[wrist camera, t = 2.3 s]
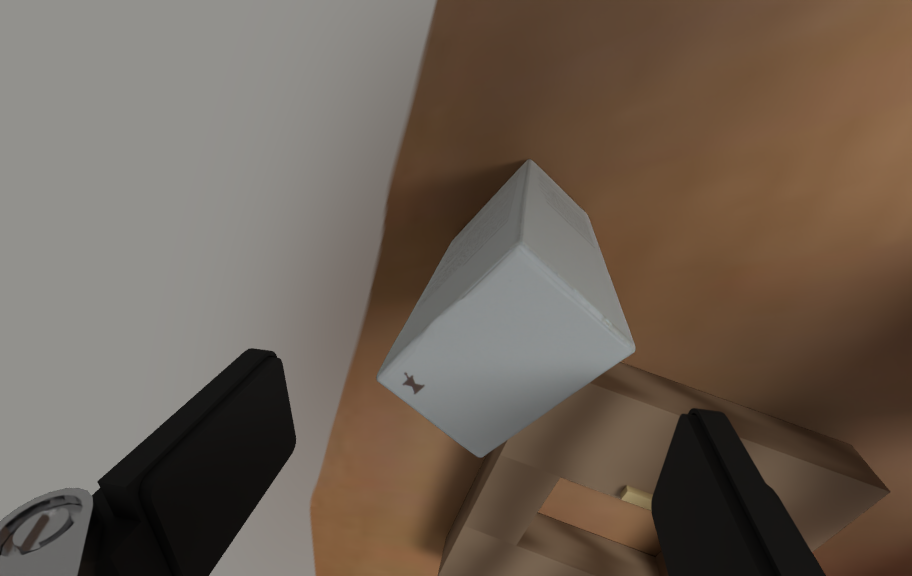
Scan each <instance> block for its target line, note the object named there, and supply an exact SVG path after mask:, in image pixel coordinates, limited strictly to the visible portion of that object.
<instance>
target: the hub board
mask: <svg viewBox="0 0 912 576" xmlns="http://www.w3.org/2000/svg"><path fill="white" fill-rule="evenodd" d="M692 408H698V409H705V410H713V411H720V412H723V413H724V414H725V415H726V416H727V417H728V419H729V421H730V423H731V424H732V426H733V428H734V429H735V431H736V433H737V435H738V436H739V438H740V440H741V441H742V443H743V445H744V447H745V448H746V450H747V452H748V453H749V455H750V457H751V459H752V460H753V462H754V464H755V465H756V467H757V469H758V471H759V472H760V474H761V476H762V477H763V479H764V481H765V483H766V484H767V485H769V486H770V487H771V488H773V490H774V491H775V492H776V494H777V495H778V496H779V498H780V500H781V501H782V503H783V505H784V506H785V508H786V510H787V511H788V513H789V515H790V516H791V518H792V520H793V521H794V523H795V525H796V527H797V528H798V530H799V532H800V533H801V535H802V537H803V538H804V540H805V542H806V543H807V545H808V547H809V548H810V550H811V552H813V551H814V550H816V549H817V548H818V547H820V546H821V545H822V544H824V543H825V542H826V541H827V540H829V539H830V538H831V537H833V536H834V535H835V534H837V533H838V532H839V531H840V530H842V529H843V528H844V527H846V526H847V525H848V524H849V523H851V522H852V521H853V520H855V519H856V518H857V517H859V516H860V515H861V514H862V513H864V512H865V511H866V510H868V509H869V508H870V507H872V506H873V505H874V504H875V503H877V502H878V501H879V500H881V499H882V498H883V497H885V496H886V495H887V494H888V493H890V491H889V490H888V488H887V487H886V486H885V485H884V484H883V482H882V481H881V480H880V479H879V478H878V476H877V475H876V474H875V473H874V472H873V470H872V469H871V468H870V467H869V466H868V464H867V463H866V462H865V461H864V460H863V458H862V457H861V456H860V455H859V454H858V452H857V451H856V450H855V449H854V448H853V446H852V445H849V444H847V443H844V442H841V441H838V440H836V439H833V438H830V437H827V436H824V435H822V434H819V433H816V432H813V431H810V430H808V429H805V428H802V427H799V426H796V425H794V424H791V423H788V422H785V421H783V420H780V419H777V418H774V417H771V416H769V415H766V414H763V413H760V412H757V411H755V410H752V409H749V408H746V407H744V406H741V405H738V404H735V403H732V402H730V401H727V400H724V399H721V398H718V397H716V396H713V395H710V394H707V393H705V392H702V391H699V390H696V389H693V388H691V387H688V386H685V385H682V384H679V383H677V382H674V381H671V380H668V379H665V378H663V377H660V376H657V375H654V374H652V373H649V372H646V371H643V370H640V369H638V368H635V367H632V366H629V365H626V364H624V363H621V362H619V363H617V364H616V365H614V366H613V367H611V368H610V369H608V370H607V371H605V372H604V373H603V374H601V375H600V376H598V377H597V378H595V379H594V380H593V381H591V382H590V383H588V384H587V385H585V386H584V387H582V388H581V389H580V390H578V391H577V392H575V393H574V394H572V395H571V396H569V397H568V398H566V399H565V400H563V401H562V402H561V403H559V404H558V405H556V406H555V407H554V408H552V409H551V410H549V411H548V412H547V413H545V414H544V415H542V416H541V417H539V418H538V419H537V420H535V421H534V422H532V423H531V424H530V425H528V426H527V427H525V428H524V429H522V430H521V431H520V432H518V433H517V434H515V435H514V436H512V437H511V438H509V439H508V440H506V441H505V442H504V443H502V444H501V445H499V446H498V447H496V448H495V449H493V450H492V451H490V452H489V453H488V454H487V456H486V458H485V460H484V462H483V464H482V466H481V468H480V470H479V472H478V474H477V476H476V478H475V480H474V482H473V484H472V486H471V489H470V491H469V493H468V495H467V497H466V499H465V501H464V503H463V505H462V507H461V509H460V511H459V513H458V515H457V517H456V519H455V521H454V523H453V525H452V527H451V529H450V532H449V534H448V536H447V538H446V541H445V545H444V550H443V554H442V559H441V563H440V568H439V572H438V576H668V572H667V568H666V564H665V561H664V557H663V553H662V551H661V552H660V553H659V554H658V555H657V556H656V557H654V556H651V555H648V554H646V553H643V552H641V551H638V550H635V549H633V548H630V547H627V546H625V545H622V544H619V543H617V542H614V541H611V540H609V539H606V538H603V537H601V536H598V535H595V534H593V533H590V532H587V531H585V530H582V529H579V528H577V527H574V526H571V525H569V524H566V523H564V522H561V521H558V520H556V519H553V518H550V517H548V516H545V515H542V514H540V513H537V512H538V511H539V509H540V508H541V506H542V505H543V503H544V502H545V500H546V499H547V497H548V495H549V494H550V492H551V491H552V489H553V488H554V486H555V485H556V483H557V482H558V480H559V478H560V477H561V478H564V479H567V480H569V481H572V482H575V483H577V484H580V485H583V486H585V487H588V488H591V489H593V490H596V491H599V492H602V493H604V494H607V495H610V496H612V497H615V498H618V499H620V500H623V501H626V502H628V503H631V504H634V505H636V506H639V507H642V508H645V509H647V510H650V511H652V510H651V501H652V496H653V493H654V490H655V487H656V484H657V481H658V478H659V475H660V473H661V470H662V467H663V464H664V461H665V458H666V455H667V452H668V449H669V446H670V443H671V440H672V437H673V434H674V431H675V428H676V425H677V422H678V419H679V417H680V415H681V414H688V413H689V411H690V410H691V409H692Z"/></svg>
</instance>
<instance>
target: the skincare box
mask: <svg viewBox="0 0 912 576" xmlns="http://www.w3.org/2000/svg"><path fill="white" fill-rule="evenodd" d="M634 352H635V344H634V341H633V339H632V336H631V333H630V330H629V327H628V324H627V322H626V319H625V316H624V314H623V311H622V308H621V305H620V303H619V300H618V297H617V294H616V291H615V289H614V286H613V283H612V281H611V278H610V275H609V273H608V270H607V267H606V264H605V261H604V259H603V256H602V253H601V250H600V247H599V245H598V242H597V239H596V236H595V234H594V231H593V228H592V225H591V222H590V219H589V217H588V214H587V213H585V211H584V210H583V209H581V208H580V207H579V206H578V205H577V204H576V203H575V202H574V201H573V200H572V199H571V198H570V197H569V196H568V195H567V194H566V193H565V192H564V191H563V190H562V189H561V188H560V187H559V186H558V185H557V184H556V183H555V182H554V181H553V180H552V179H551V178H550V177H549V176H548V175H547V174H546V173H545V172H544V171H543V170H542V169H541V168H540V167H539V166H538V165H537V164H536V163H535V162H534V161H532V160H531V159H528V160H527V161H526V162H525V163H524V164H523V165H522V166H521V167H520V168H519V169H518V170H517V171H516V172H515V173H514V175H513V176H512V177H511V178H510V179H509V180H508V181H507V182H506V183H505V184H504V185H503V186H502V187H501V189H500V190H499V191H498V192H497V193H496V194H495V195H494V196H493V197H492V198H491V199H490V200H489V201H488V203H487V204H486V205H485V206H484V207H483V208H482V209H481V210H480V211H479V212H478V213H477V214H476V216H475V217H474V218H473V219H472V220H471V221H470V222H469V223H468V224H467V225H466V226H465V227H464V229H463V230H462V231H461V232H460V233H459V234H458V235H457V236H456V237H455V238H454V239H453V240H452V242H451V244H450V246H449V247H448V249H447V251H446V252H445V254H444V256H443V257H442V259H441V261H440V263H439V265H438V266H437V268H436V270H435V272H434V274H433V276H432V277H431V279H430V281H429V283H428V285H427V286H426V288H425V290H424V292H423V293H422V295H421V297H420V299H419V300H418V302H417V304H416V306H415V307H414V309H413V311H412V313H411V315H410V316H409V318H408V320H407V322H406V323H405V325H404V327H403V329H402V330H401V332H400V334H399V335H398V337H397V339H396V340H395V342H394V344H393V345H392V347H391V349H390V351H389V353H388V355H387V357H386V358H385V360H384V362H383V364H382V366H381V368H380V370H379V372H378V374H377V377H376V378H377V381H378V382H379V383H381V384H382V385H383V386H385V387H386V388H387V389H389V390H390V391H391V392H393V393H394V394H395V395H397V396H398V397H399V398H400V399H402V400H403V401H404V402H406V403H407V404H408V405H410V406H411V407H412V408H414V409H415V410H416V411H417V412H419V413H420V414H421V415H423V416H424V417H425V418H426V419H428V420H429V421H430V422H431V423H433V424H434V425H435V426H437V427H438V428H439V429H440V430H442V431H443V432H444V433H446V434H447V435H448V436H449V437H451V438H452V439H453V440H455V441H456V442H457V443H459V444H460V445H461V446H463V447H464V448H465V449H467V450H468V451H470V452H471V453H472V454H474V455H475V456H477V457H479V458H481V457H484V456H485V455H486V454H488V453H489V452H490V451H492V450H493V449H495V448H496V447H498V446H499V445H501V444H502V443H504V442H505V441H506V440H508V439H509V438H511V437H512V436H514V435H515V434H517V433H518V432H520V431H521V430H522V429H524V428H525V427H527V426H528V425H530V424H531V423H532V422H534V421H535V420H537V419H538V418H539V417H541V416H542V415H544V414H545V413H547V412H548V411H549V410H551V409H552V408H554V407H555V406H556V405H558V404H559V403H561V402H562V401H563V400H565V399H566V398H568V397H569V396H571V395H572V394H574V393H575V392H577V391H578V390H580V389H581V388H582V387H584V386H585V385H587V384H588V383H590V382H591V381H593V380H594V379H595V378H597V377H598V376H600V375H601V374H603V373H604V372H605V371H607V370H608V369H610V368H611V367H613V366H614V365H616V364H617V363H619V362H620V361H622V360H623V359H625V358H626V357H628V356H630V355H631V354H633V353H634Z"/></svg>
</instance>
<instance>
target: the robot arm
mask: <svg viewBox="0 0 912 576" xmlns="http://www.w3.org/2000/svg"><path fill="white" fill-rule="evenodd" d="M295 444H296V435H295V430H294V424H293V419H292V413H291V408H290V402H289V397H288V391H287V386H286V380H285V375H284V369H283V364H282V361H281V359H280V358H277V356H276V354H275V353H274V352H273V351H267V350H260V349H248V350H247V351H245V352H244V353H242V354H241V355H240V356H239V357H238V358H237V359H236V360H235V361H233V362H232V363H231V364H230V365H229V366H228V367H227V368H226V369H224V370H223V371H222V372H221V373H220V374H219V375H218V376H217V377H215V378H214V379H213V380H212V381H211V382H210V383H209V384H207V385H206V386H205V387H204V388H203V389H202V390H201V391H199V392H198V393H197V394H196V395H195V396H194V397H193V398H191V399H190V400H189V401H188V402H187V403H186V404H185V405H184V406H182V407H181V408H180V409H179V410H178V411H177V412H176V413H175V414H174V415H172V416H171V417H170V418H169V419H168V420H167V421H165V422H164V423H163V424H162V425H161V426H160V427H159V428H158V429H156V430H155V431H154V432H153V433H152V434H151V435H150V436H148V437H147V438H146V439H145V440H144V441H143V442H142V443H140V444H139V445H138V446H137V447H136V448H135V449H134V450H133V451H131V452H130V453H129V454H128V455H127V456H126V457H125V458H123V459H122V460H121V461H120V462H119V463H118V464H117V465H116V466H114V467H113V468H112V469H111V470H110V471H109V472H108V473H106V474H105V475H104V476H103V477H102V478H101V479H100V480H99V481H98V484H99V486H100V489H99V490H97V491H96V492H95V493H94V494H93V495H91V494H90V493H89V492H88V491H86V490H83V489H80V488H65V489H61V490H57V491H53V492H49V493H47V494H44V495H42V496H39V497H37V498H34V499H33V500H31V501H29V502H27V503H25V504H24V505H22V506H20V507H18V508H17V509H15V510H14V511H13V512H11V513H10V514H9V515H7V516H6V517H4V518H3V519H2V520H1V521H0V576H209V575H210V573H211V571H212V570H213V569H214V567H215V566H216V564H217V563H218V561H219V560H220V558H221V557H222V555H223V554H224V552H225V551H226V550H227V548H228V547H229V545H230V544H231V542H232V541H233V539H234V538H235V536H236V535H237V533H238V532H239V531H240V529H241V528H242V526H243V525H244V523H245V522H246V520H247V519H248V517H249V516H250V514H251V513H252V511H253V510H254V509H255V507H256V506H257V504H258V502H259V501H260V500H261V498H262V497H263V495H264V494H265V492H266V491H267V489H268V488H269V487H270V485H271V484H272V482H273V480H274V479H275V478H276V476H277V475H278V473H279V472H280V470H281V469H282V467H283V466H284V465H285V463H286V462H287V460H288V459H289V457H290V456H291V454H292V453H293V450H294V448H295ZM651 510H652V516H653V520H654V524H655V528H656V531H657V535H658V539H659V542H660V546H661V550H662V553H663V557H664V561H665V564H666V568H667V572H668V576H826V575H825V573H824V572H823V570H822V568H821V567H820V565H819V563H818V562H817V560H816V558H815V557H814V555H813V553H812V552H811V550H810V548H809V547H808V545H807V543H806V542H805V540H804V538H803V537H802V535H801V533H800V532H799V530H798V528H797V527H796V525H795V523H794V521H793V520H792V518H791V516H790V515H789V513H788V511H787V510H786V508H785V506H784V505H783V503H782V501H781V500H780V498H779V496H778V495H777V494H776V492H775V491H774V490H773V488H771V487H770V486H769V485H767V484H766V483H765V481H764V479H763V477H762V476H761V474H760V472H759V471H758V469H757V467H756V465H755V464H754V462H753V460H752V459H751V457H750V455H749V453H748V452H747V450H746V448H745V447H744V445H743V443H742V441H741V440H740V438H739V436H738V435H737V433H736V431H735V429H734V428H733V426H732V424H731V423H730V421H729V419H728V417H727V416H726V415H725V414H724V413H723V412H720V411H713V410H705V409H698V408H692V409H691V410H690V411H689V413H688V414H681V415H680V417H679V419H678V422H677V425H676V428H675V431H674V434H673V437H672V440H671V443H670V446H669V449H668V452H667V455H666V458H665V461H664V464H663V467H662V470H661V473H660V475H659V478H658V481H657V484H656V487H655V490H654V493H653V496H652V501H651Z"/></svg>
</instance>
